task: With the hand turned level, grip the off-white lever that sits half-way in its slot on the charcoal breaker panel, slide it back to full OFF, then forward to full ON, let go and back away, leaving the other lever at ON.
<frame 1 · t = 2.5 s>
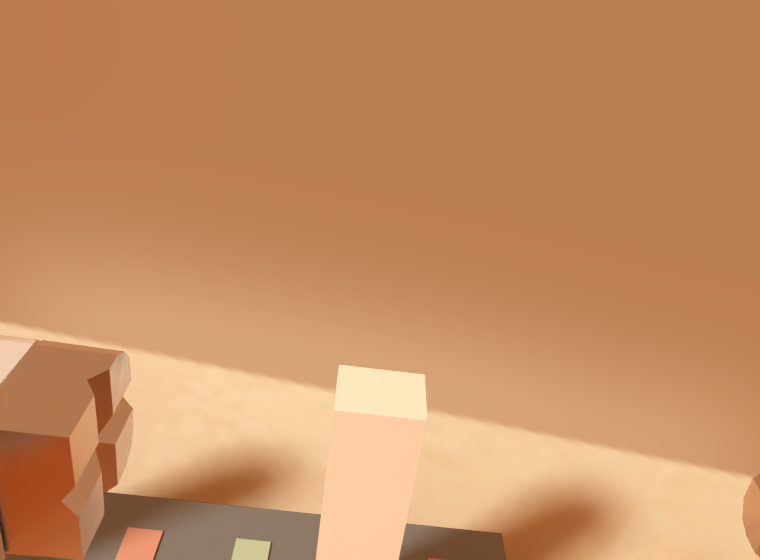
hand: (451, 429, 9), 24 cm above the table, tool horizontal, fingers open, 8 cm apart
tripped breaker lever: (360, 521, 27), point 9 cm above the table, slide at 0.0 cm
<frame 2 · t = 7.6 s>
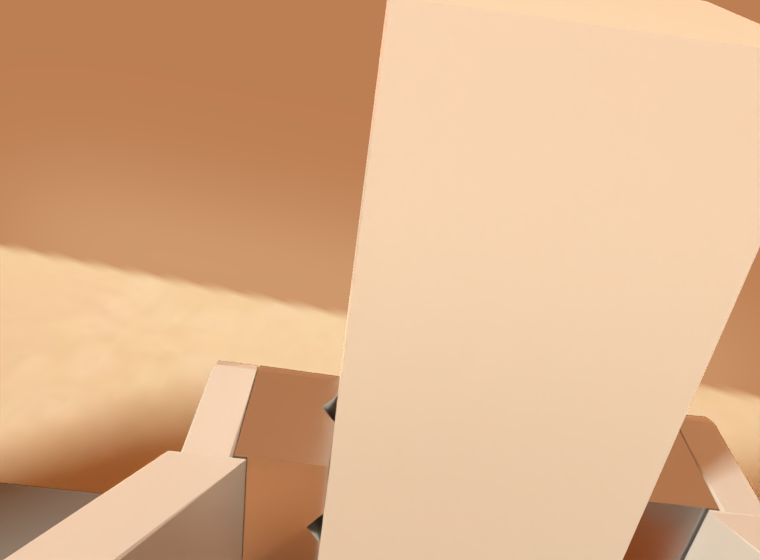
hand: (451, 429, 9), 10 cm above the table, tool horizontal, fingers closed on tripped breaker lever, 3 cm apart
tripped breaker lever: (443, 538, 9), point 9 cm above the table, slide at 0.0 cm, touching gripper
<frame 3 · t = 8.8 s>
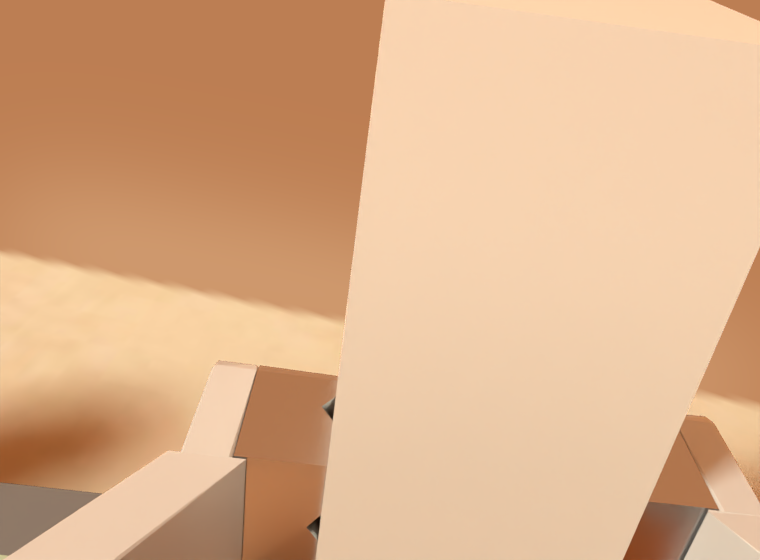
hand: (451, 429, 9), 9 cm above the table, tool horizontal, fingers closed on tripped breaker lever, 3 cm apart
tripped breaker lever: (442, 539, 9), point 9 cm above the table, slide at -3.4 cm, touching gripper
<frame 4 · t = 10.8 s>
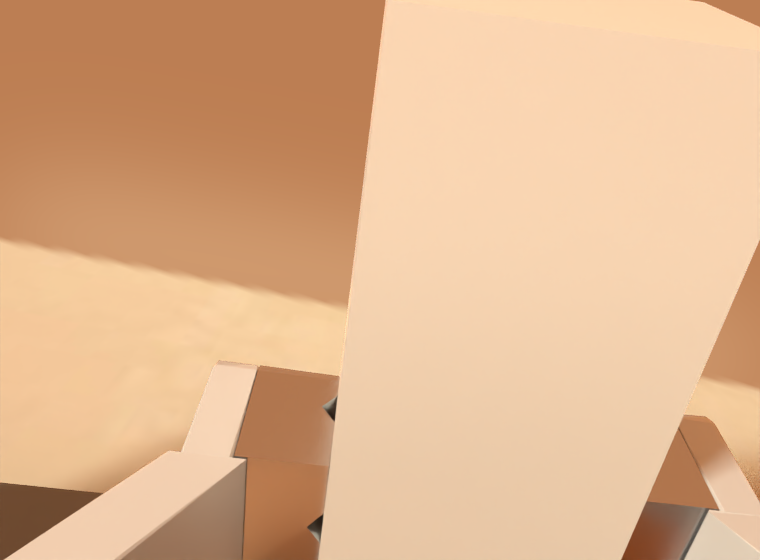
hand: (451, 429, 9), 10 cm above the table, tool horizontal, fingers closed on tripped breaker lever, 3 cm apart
tripped breaker lever: (443, 537, 9), point 9 cm above the table, slide at 3.4 cm, touching gripper
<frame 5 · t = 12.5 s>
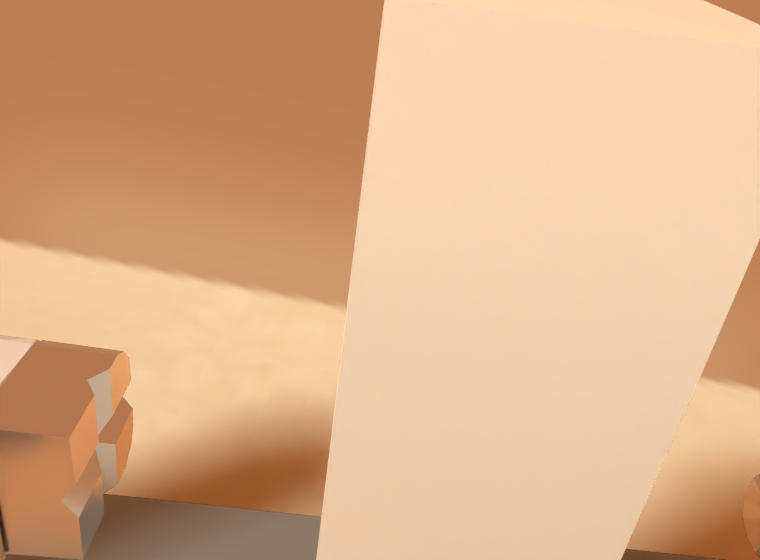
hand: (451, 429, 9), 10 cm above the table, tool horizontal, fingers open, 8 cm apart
tripped breaker lever: (443, 538, 9), point 9 cm above the table, slide at 3.4 cm
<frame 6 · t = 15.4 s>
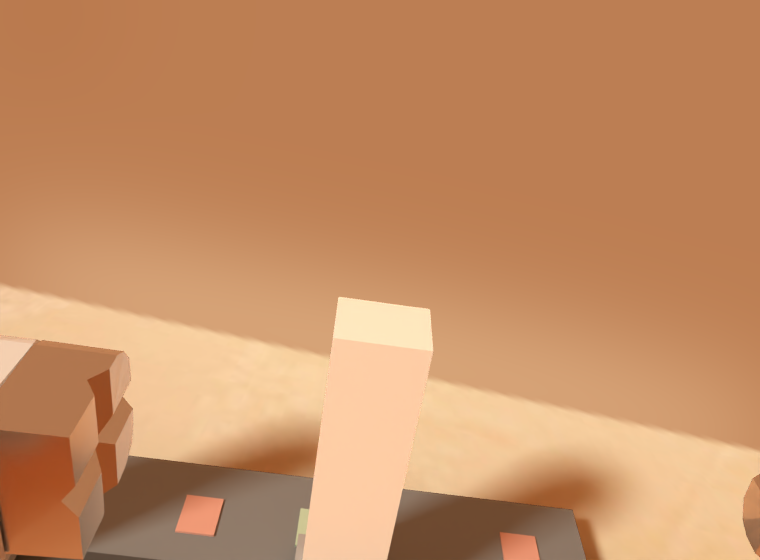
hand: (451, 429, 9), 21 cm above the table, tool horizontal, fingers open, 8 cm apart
tripped breaker lever: (357, 470, 25), point 9 cm above the table, slide at 3.4 cm
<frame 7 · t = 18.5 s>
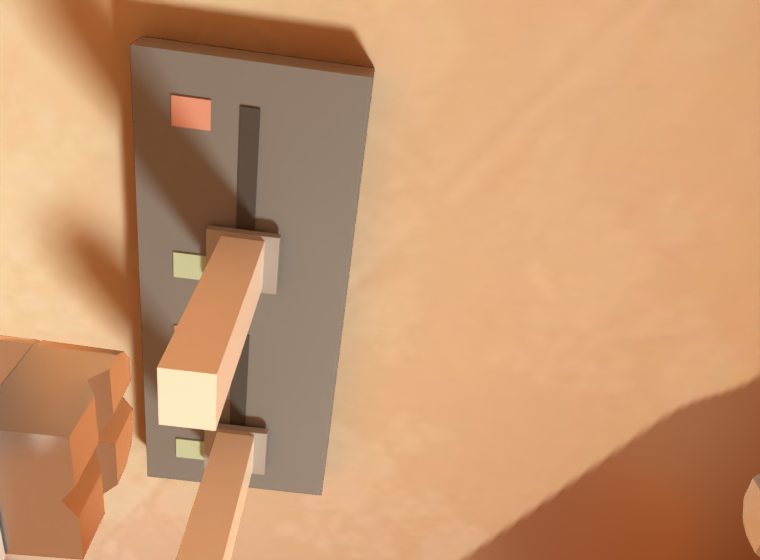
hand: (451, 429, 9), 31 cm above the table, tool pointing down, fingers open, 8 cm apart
breaker panel: (248, 291, 44), on the table
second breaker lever: (215, 520, 42), point 9 cm above the table, slide at 3.5 cm
tripped breaker lever: (219, 318, 35), point 9 cm above the table, slide at 3.4 cm
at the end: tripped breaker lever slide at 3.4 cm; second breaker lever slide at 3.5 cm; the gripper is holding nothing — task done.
